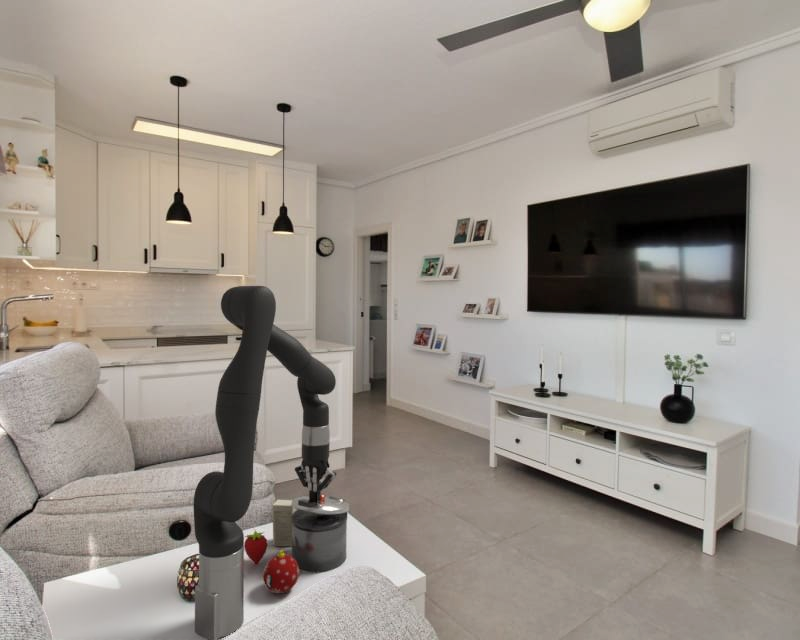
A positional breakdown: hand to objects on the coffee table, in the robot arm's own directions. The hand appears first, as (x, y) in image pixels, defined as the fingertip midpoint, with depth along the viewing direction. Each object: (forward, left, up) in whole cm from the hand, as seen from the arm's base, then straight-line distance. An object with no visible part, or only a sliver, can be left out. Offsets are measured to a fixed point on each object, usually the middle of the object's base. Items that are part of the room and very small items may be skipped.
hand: (314, 503), depth 131 cm
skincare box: (+4, +14, -16) cm, 22 cm away
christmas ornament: (-15, -1, -16) cm, 22 cm away
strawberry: (-9, +13, -16) cm, 23 cm away
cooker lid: (+3, 0, -2) cm, 4 cm away
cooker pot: (+2, 0, -16) cm, 16 cm away
